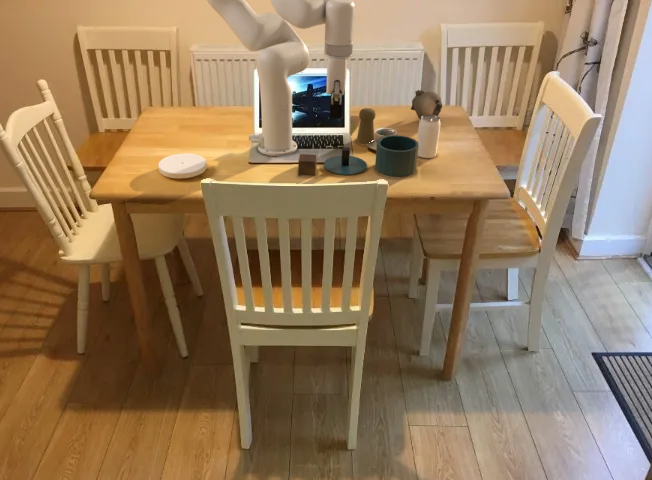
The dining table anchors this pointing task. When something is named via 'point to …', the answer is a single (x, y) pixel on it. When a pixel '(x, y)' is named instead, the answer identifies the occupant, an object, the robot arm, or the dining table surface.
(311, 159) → the block
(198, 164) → the plastic lid
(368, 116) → the cork
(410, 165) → the pot
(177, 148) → the dining table surface
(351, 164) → the lid
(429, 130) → the can
